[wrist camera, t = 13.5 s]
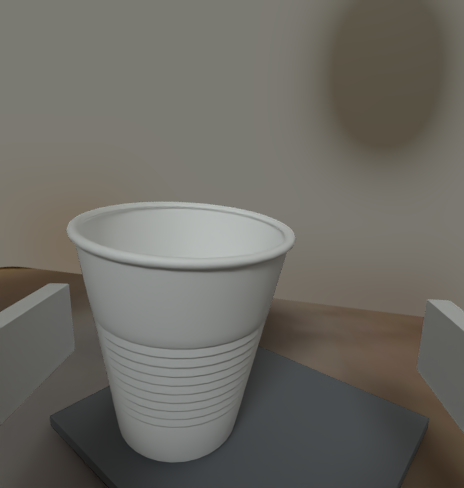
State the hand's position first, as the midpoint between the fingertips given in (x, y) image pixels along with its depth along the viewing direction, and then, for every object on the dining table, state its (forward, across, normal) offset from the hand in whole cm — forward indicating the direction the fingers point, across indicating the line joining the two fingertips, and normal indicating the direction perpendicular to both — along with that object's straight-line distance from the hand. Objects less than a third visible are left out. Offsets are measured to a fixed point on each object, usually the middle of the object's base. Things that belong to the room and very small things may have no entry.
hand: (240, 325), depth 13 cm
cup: (+4, -4, -8) cm, 10 cm away
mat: (+5, 0, -9) cm, 10 cm away
